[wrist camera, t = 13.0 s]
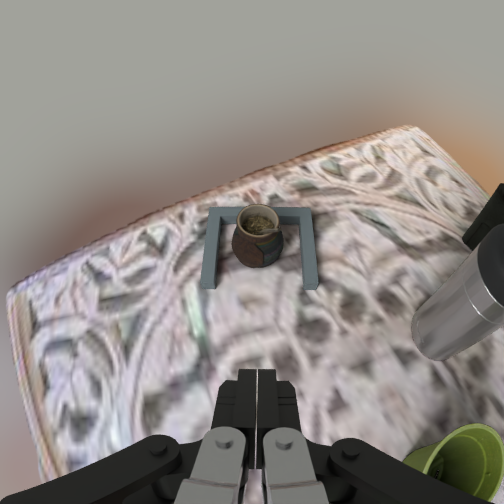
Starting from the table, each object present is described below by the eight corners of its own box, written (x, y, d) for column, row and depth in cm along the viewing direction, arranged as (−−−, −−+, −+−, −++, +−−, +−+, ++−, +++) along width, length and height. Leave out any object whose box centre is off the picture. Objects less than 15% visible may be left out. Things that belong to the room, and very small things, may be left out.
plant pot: (450, 420, 31) (502, 409, 22) (455, 494, 25) (505, 500, 15) (375, 442, 31) (416, 442, 21) (379, 522, 24) (418, 544, 15)
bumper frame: (308, 215, 50) (310, 207, 48) (316, 289, 43) (318, 283, 41) (211, 215, 50) (209, 207, 49) (202, 288, 43) (200, 282, 42)
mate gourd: (255, 225, 49) (256, 179, 41) (293, 252, 46) (302, 208, 38) (222, 254, 46) (216, 210, 38) (261, 285, 44) (263, 245, 35)
